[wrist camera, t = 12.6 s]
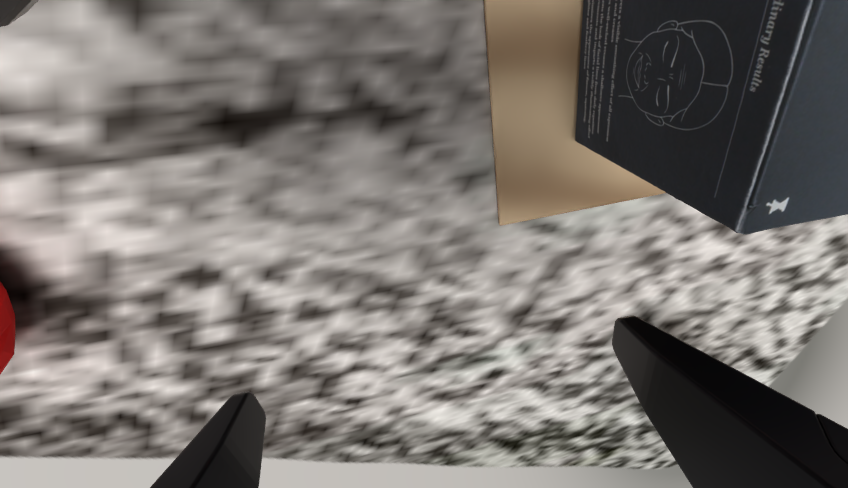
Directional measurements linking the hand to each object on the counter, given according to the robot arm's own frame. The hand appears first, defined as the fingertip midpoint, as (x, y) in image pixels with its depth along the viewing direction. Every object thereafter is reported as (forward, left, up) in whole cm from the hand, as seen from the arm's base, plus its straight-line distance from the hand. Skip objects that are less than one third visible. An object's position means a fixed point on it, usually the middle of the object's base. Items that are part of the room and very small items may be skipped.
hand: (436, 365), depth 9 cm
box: (-4, +12, -13) cm, 18 cm away
